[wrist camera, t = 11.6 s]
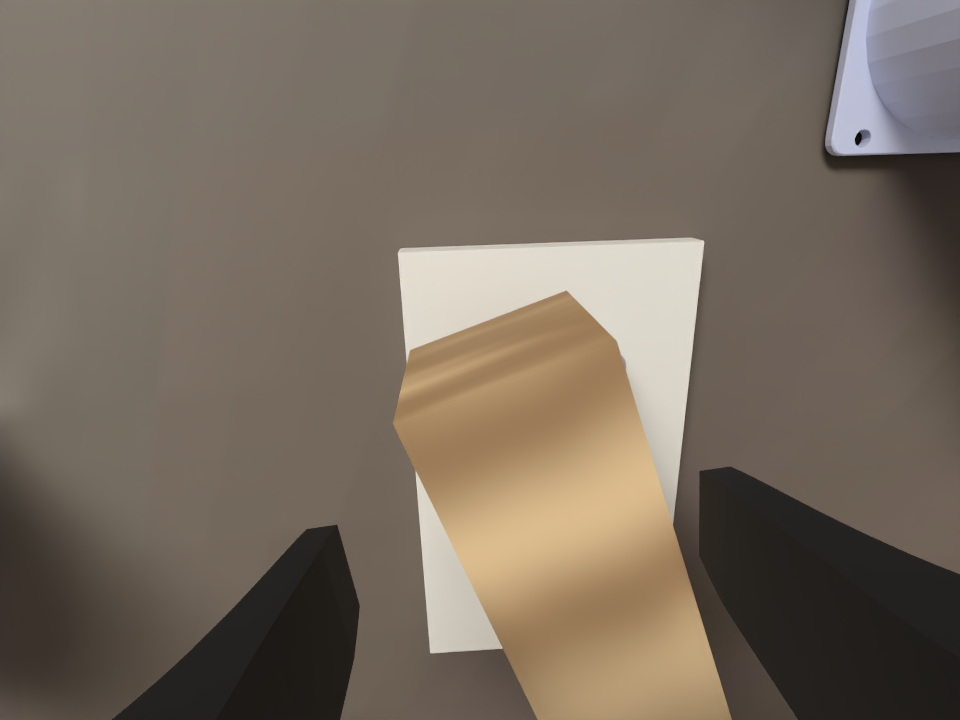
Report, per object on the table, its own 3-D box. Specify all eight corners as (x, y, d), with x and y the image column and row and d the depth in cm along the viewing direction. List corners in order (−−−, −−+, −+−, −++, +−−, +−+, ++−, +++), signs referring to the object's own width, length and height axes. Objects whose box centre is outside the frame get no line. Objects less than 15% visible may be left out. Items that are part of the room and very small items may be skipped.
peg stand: (691, 237, 18) (735, 249, 15) (652, 619, 24) (678, 679, 21) (400, 248, 18) (391, 262, 15) (431, 634, 24) (428, 696, 21)
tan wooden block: (677, 626, 20) (745, 764, 15) (553, 667, 21) (584, 814, 16) (566, 290, 16) (616, 341, 11) (410, 350, 16) (393, 424, 11)
